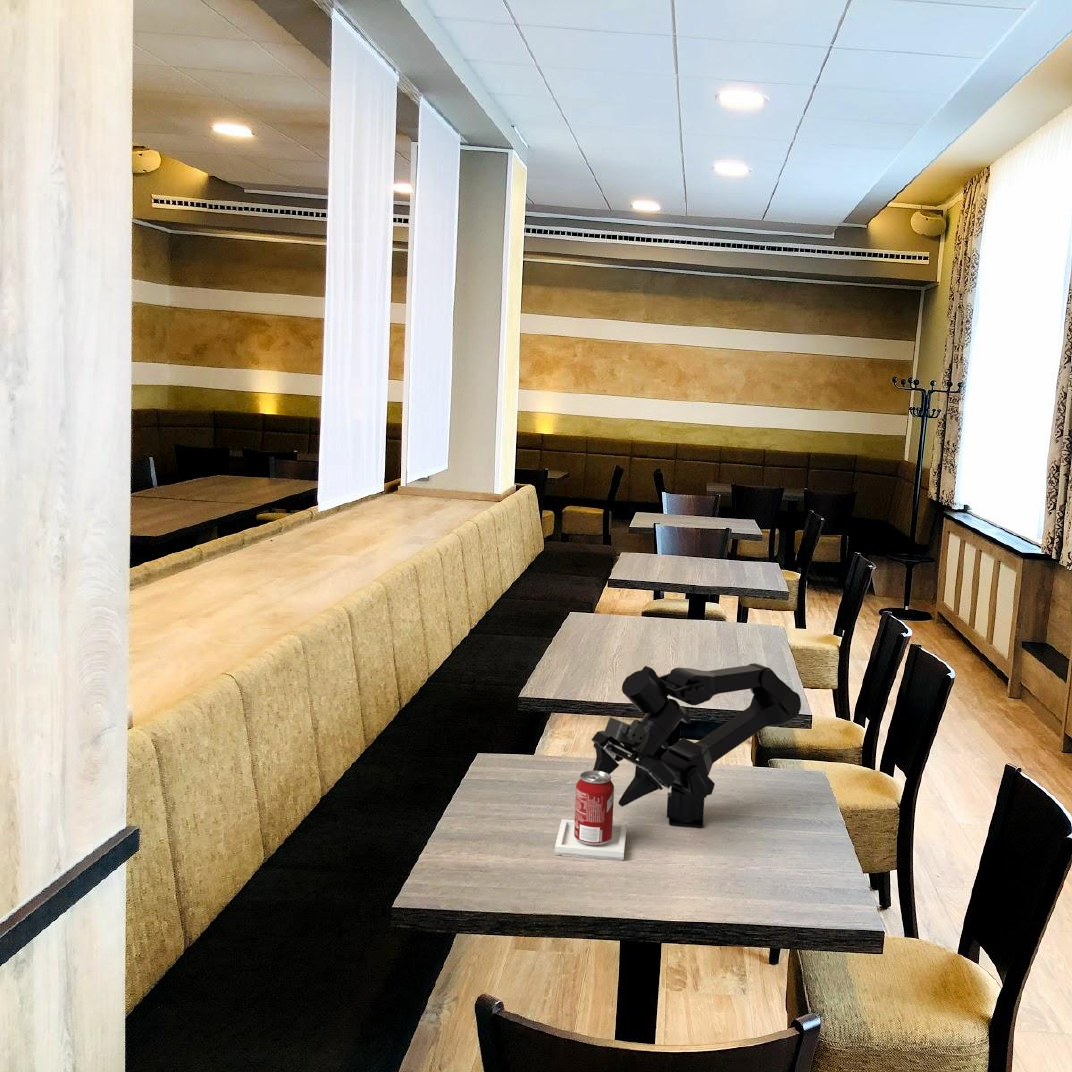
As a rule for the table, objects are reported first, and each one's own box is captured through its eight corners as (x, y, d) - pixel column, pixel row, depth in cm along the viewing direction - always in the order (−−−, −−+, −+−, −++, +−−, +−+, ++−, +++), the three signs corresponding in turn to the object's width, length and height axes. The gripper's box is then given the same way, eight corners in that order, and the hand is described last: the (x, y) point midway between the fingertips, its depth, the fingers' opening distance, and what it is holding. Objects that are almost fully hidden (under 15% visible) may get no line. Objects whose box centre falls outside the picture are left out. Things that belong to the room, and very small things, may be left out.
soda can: (601, 851, 194) (604, 786, 192) (567, 842, 197) (569, 777, 195) (618, 837, 199) (621, 774, 197) (584, 828, 203) (587, 766, 201)
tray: (626, 832, 203) (626, 824, 203) (623, 861, 191) (623, 852, 191) (561, 827, 205) (561, 819, 204) (554, 855, 193) (554, 846, 192)
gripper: (601, 688, 206) (550, 755, 202) (664, 716, 190) (610, 789, 186) (633, 722, 211) (584, 788, 207) (697, 752, 196) (645, 824, 192)
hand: (604, 796), depth 198 cm, fingers open, 9 cm apart
